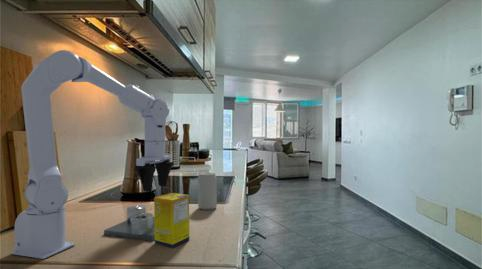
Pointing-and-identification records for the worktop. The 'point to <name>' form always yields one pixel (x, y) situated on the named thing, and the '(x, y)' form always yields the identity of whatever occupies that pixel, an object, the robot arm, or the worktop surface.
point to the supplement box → (171, 219)
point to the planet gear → (141, 224)
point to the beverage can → (207, 191)
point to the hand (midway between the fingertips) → (155, 188)
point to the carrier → (125, 227)
